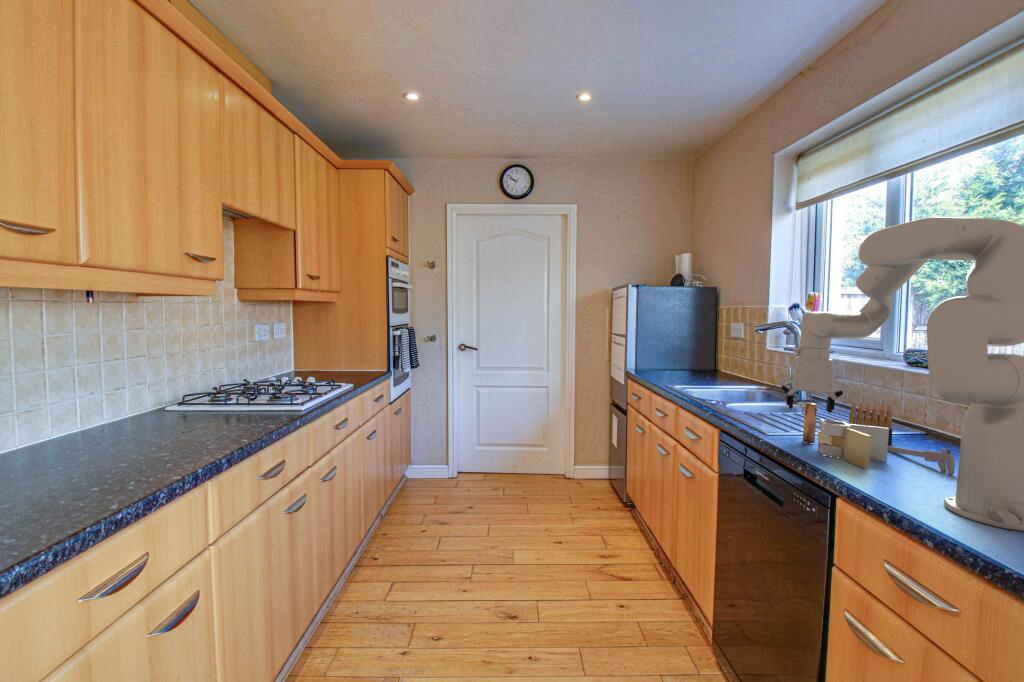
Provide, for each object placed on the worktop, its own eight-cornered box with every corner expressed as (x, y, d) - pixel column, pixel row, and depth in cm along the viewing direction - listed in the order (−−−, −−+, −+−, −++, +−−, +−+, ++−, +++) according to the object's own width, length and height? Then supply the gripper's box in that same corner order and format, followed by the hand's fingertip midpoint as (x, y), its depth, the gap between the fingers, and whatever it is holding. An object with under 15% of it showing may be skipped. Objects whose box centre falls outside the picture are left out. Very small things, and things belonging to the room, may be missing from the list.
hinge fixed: (889, 465, 111) (892, 430, 110) (822, 456, 117) (824, 423, 117) (881, 458, 116) (884, 425, 116) (817, 450, 122) (820, 418, 122)
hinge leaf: (877, 469, 107) (879, 436, 107) (856, 468, 107) (858, 435, 107) (835, 450, 121) (837, 421, 121) (816, 450, 121) (818, 421, 121)
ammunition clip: (889, 443, 130) (892, 404, 129) (891, 445, 128) (895, 406, 127) (846, 439, 134) (849, 401, 133) (848, 440, 132) (851, 402, 131)
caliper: (954, 476, 105) (956, 451, 104) (949, 476, 105) (952, 451, 104) (884, 449, 125) (886, 428, 125) (880, 449, 125) (882, 428, 125)
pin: (815, 444, 127) (818, 405, 126) (803, 443, 129) (806, 403, 128) (813, 442, 130) (816, 403, 129) (801, 440, 131) (804, 402, 130)
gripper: (781, 352, 128) (777, 408, 129) (853, 357, 121) (848, 416, 122) (778, 350, 135) (774, 403, 136) (846, 354, 127) (841, 410, 129)
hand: (809, 409), depth 129 cm, fingers open, 9 cm apart
